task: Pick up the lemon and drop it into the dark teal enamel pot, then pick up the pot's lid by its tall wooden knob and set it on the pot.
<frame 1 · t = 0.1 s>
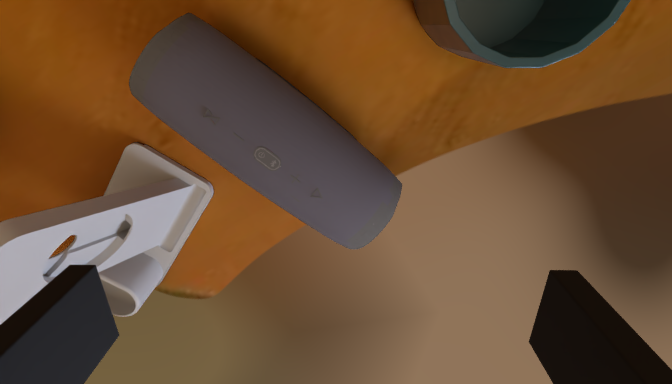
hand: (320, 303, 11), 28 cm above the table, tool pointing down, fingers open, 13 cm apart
bluetooth speaker: (286, 126, 37), on the table
phone holder: (146, 219, 42), on the table
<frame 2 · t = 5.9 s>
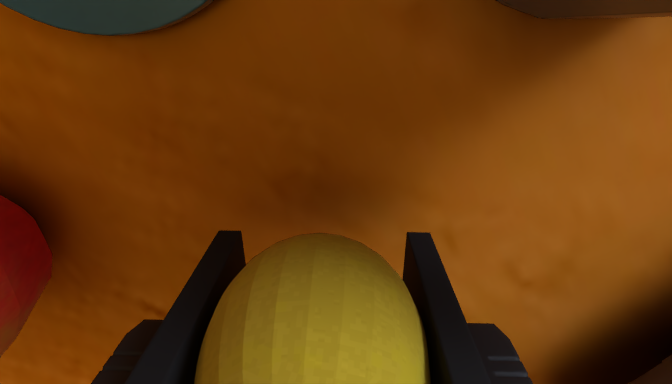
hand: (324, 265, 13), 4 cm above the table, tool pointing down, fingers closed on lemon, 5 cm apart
lemon: (325, 257, 13), point 4 cm above the table, touching gripper
apple: (10, 221, 18), on the table
when the fingers open (9 cm above the table, at t = 11.3 s): lemon stays where it is, resting on pot.
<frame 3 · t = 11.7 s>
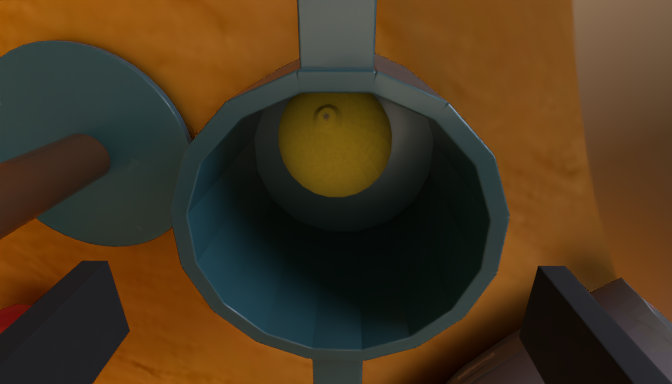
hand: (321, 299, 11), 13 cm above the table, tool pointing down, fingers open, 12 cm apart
bluetooth speaker: (497, 358, 30), on the table
lid: (92, 153, 23), point 1 cm above the table
pot: (343, 153, 23), on the table
lemon: (342, 158, 22), point 1 cm above the table, touching pot
apple: (57, 319, 31), on the table
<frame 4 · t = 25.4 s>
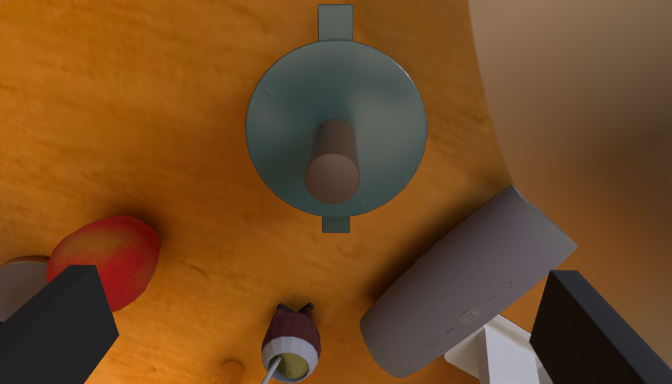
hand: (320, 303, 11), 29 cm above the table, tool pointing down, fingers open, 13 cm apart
bluetooth speaker: (444, 256, 44), on the table
phone holder: (508, 358, 51), on the table
lid: (335, 135, 27), point 10 cm above the table, touching pot
mate gourd: (293, 316, 49), on the table
pot: (338, 107, 37), on the table
milkshake: (235, 368, 53), on the table
apple: (139, 231, 44), on the table
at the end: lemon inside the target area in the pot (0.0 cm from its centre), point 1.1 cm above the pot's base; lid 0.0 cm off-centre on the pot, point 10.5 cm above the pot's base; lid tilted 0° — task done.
